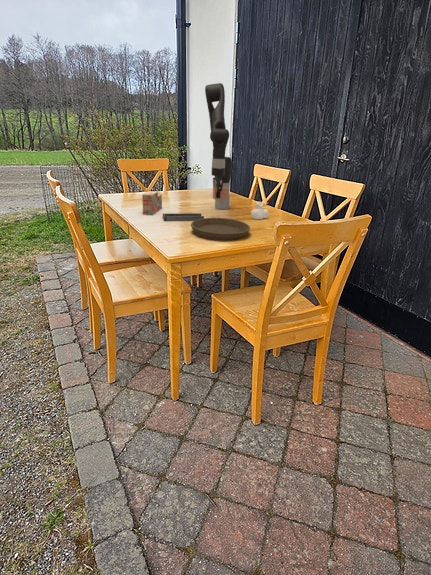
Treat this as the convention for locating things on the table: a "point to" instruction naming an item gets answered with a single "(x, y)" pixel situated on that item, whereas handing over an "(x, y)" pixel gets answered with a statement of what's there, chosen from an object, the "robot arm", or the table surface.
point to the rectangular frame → (182, 216)
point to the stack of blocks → (151, 202)
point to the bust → (259, 211)
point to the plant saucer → (220, 228)
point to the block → (221, 193)
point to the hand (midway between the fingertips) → (217, 197)
